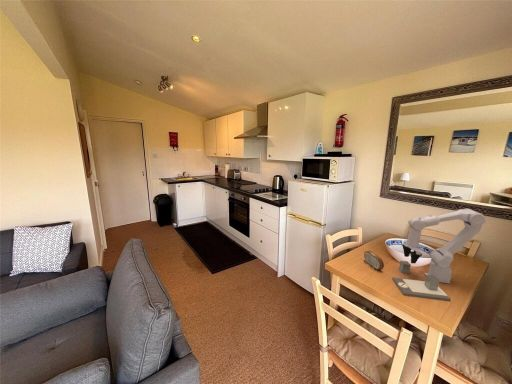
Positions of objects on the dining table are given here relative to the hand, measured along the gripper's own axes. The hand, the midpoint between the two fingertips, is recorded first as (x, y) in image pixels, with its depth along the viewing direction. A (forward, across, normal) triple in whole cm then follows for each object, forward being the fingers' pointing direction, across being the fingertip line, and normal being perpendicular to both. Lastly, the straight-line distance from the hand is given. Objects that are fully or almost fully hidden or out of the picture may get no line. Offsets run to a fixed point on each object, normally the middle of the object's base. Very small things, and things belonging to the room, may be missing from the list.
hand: (409, 259), depth 127 cm
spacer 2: (+8, +15, +4) cm, 17 cm away
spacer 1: (+10, -2, -1) cm, 10 cm away
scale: (+9, +14, -1) cm, 17 cm away
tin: (+10, -6, -18) cm, 21 cm away
